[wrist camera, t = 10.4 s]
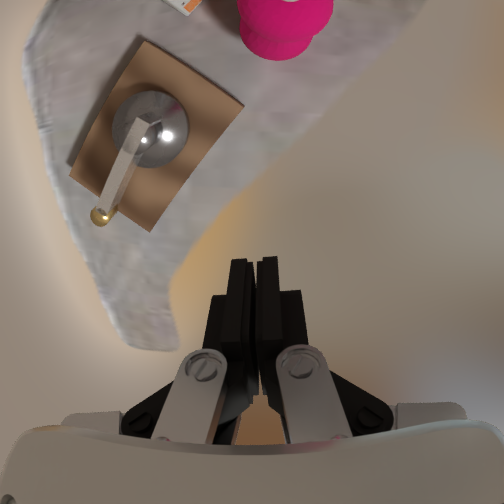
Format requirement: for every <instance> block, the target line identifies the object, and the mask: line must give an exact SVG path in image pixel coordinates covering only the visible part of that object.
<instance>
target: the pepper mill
mask: <svg viewBox="0 0 504 504" xmlns="http://www.w3.org/2000/svg"><path fill="white" fill-rule="evenodd" d="M237 6H238V11H239V14H240V16H241V20H240V28H239V30H240V35H241V38H242V40H243V42H244V44H245V45H246V47H247V48H248V49H249V50H250V51H252V52H253V53H254V54H256V55H258V56H259V57H262V58H264V59H268V60H275V61H281V60H288V59H291V58H294V57H296V56H298V55H299V54H301V53H302V52H303V51H304V50H305V49H306V48H307V47H308V45H309V44H310V42H311V40H312V38H313V36H314V35H316V34H318V33H319V32H320V31H321V30H322V29H323V28H324V27H325V26H326V24H327V23H328V21H329V19H330V17H331V15H332V12H333V0H237Z"/></svg>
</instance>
